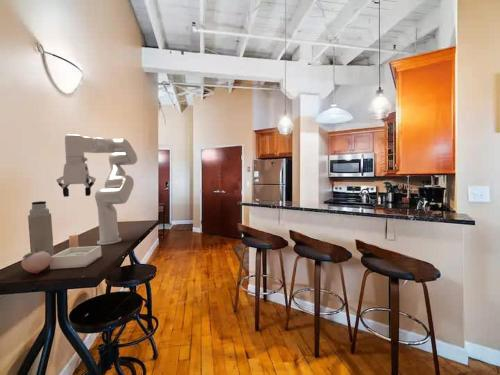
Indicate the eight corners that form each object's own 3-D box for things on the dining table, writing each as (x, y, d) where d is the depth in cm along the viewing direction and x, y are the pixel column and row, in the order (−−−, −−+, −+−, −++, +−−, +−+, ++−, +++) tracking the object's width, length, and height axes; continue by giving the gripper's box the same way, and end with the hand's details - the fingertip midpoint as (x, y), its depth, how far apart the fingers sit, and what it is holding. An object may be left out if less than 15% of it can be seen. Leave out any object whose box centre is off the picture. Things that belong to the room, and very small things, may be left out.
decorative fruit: (36, 278, 100) (33, 252, 100) (18, 277, 102) (15, 252, 101) (57, 269, 109) (56, 245, 109) (41, 268, 111) (39, 245, 110)
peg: (72, 254, 130) (71, 234, 130) (80, 254, 130) (79, 234, 130) (68, 257, 126) (67, 236, 126) (76, 256, 127) (75, 236, 126)
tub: (70, 258, 125) (69, 247, 125) (101, 256, 126) (100, 245, 126) (50, 269, 110) (49, 257, 110) (85, 266, 111) (84, 255, 111)
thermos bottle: (28, 268, 111) (23, 203, 110) (35, 263, 119) (30, 201, 117) (51, 265, 114) (46, 201, 113) (56, 260, 122) (52, 200, 120)
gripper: (98, 160, 132) (99, 195, 132) (60, 161, 129) (62, 196, 130) (90, 159, 124) (92, 195, 124) (51, 160, 122) (52, 197, 122)
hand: (77, 196), depth 127 cm, fingers open, 9 cm apart
